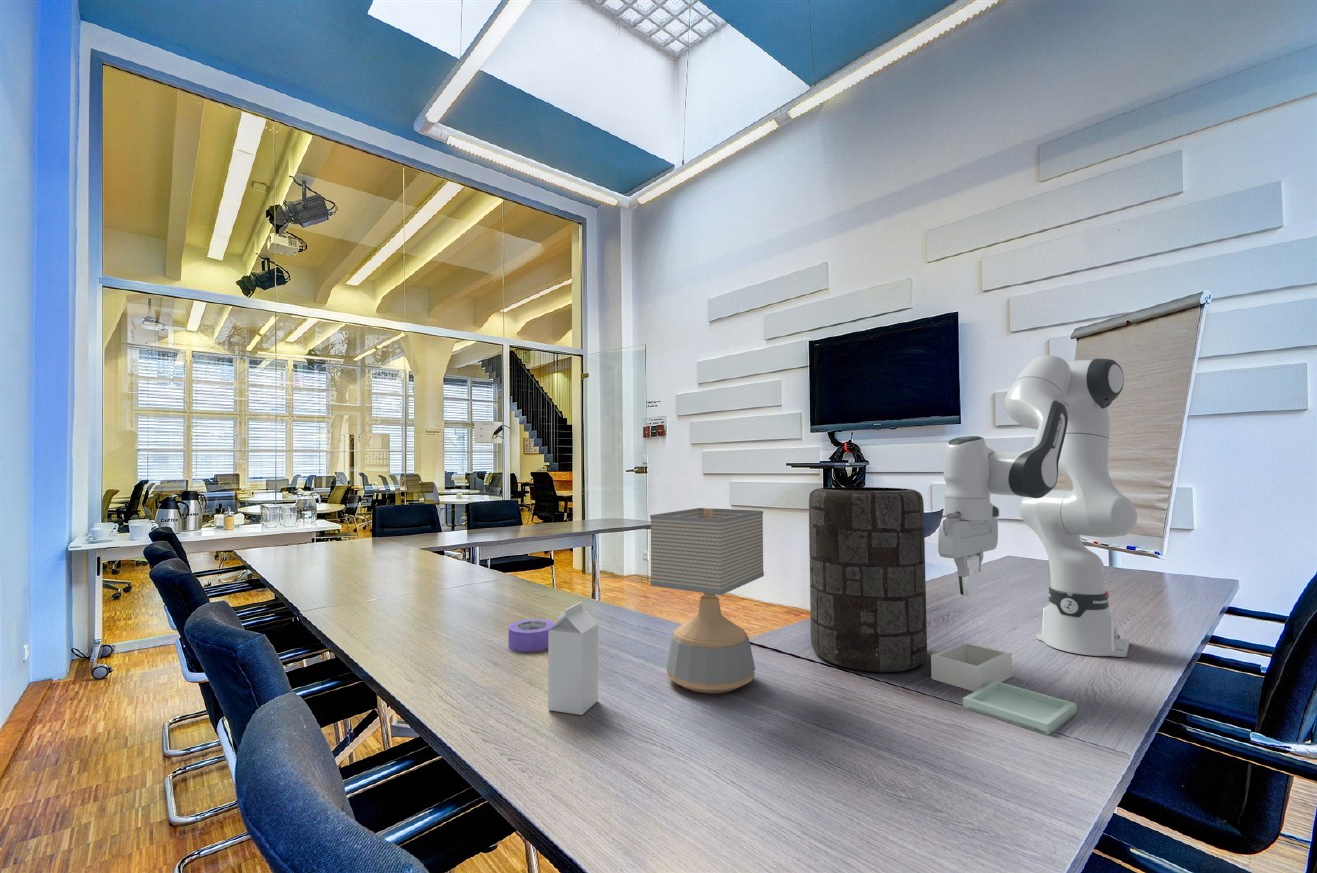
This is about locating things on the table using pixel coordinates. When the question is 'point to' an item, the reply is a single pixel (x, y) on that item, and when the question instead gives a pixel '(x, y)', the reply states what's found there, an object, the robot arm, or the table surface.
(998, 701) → the tray
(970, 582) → the milkshake
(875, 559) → the planter
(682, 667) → the desk lamp
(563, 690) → the milk carton
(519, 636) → the tape roll
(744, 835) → the table surface
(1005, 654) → the frame
